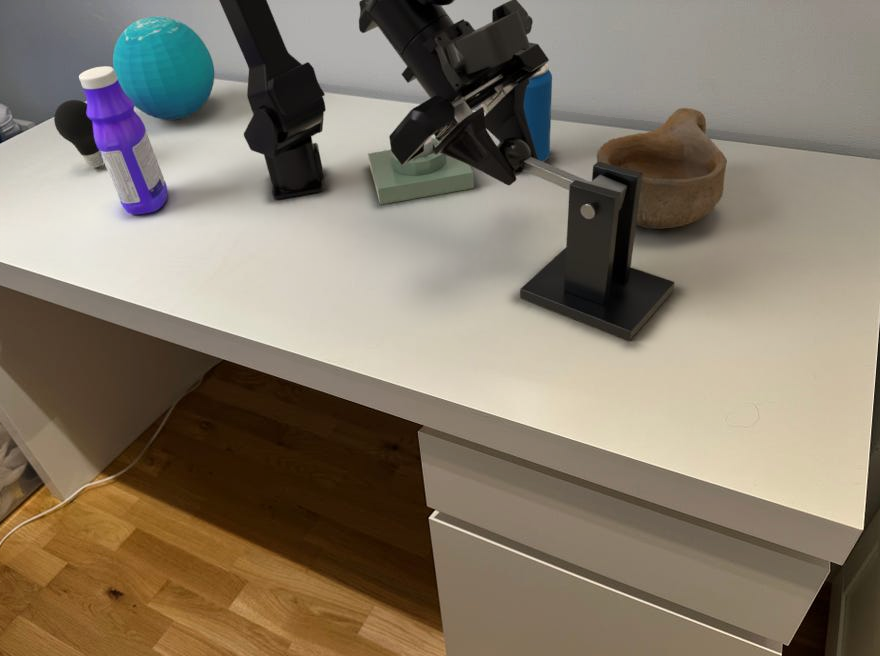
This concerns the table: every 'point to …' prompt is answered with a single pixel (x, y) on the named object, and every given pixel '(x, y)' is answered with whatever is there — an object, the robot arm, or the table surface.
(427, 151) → the flush button
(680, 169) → the bowl
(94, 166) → the light bulb
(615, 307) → the lever bracket
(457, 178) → the button block
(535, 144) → the beverage can
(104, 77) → the bottle
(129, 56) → the decorative orb
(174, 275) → the table surface
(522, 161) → the ball knob lever
